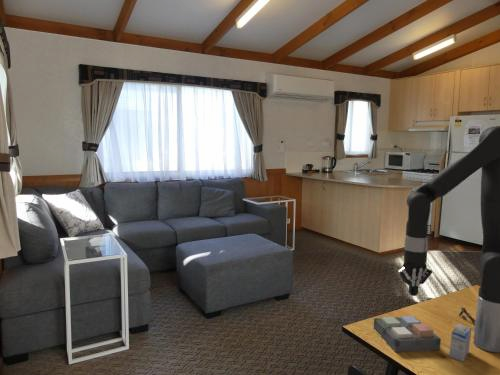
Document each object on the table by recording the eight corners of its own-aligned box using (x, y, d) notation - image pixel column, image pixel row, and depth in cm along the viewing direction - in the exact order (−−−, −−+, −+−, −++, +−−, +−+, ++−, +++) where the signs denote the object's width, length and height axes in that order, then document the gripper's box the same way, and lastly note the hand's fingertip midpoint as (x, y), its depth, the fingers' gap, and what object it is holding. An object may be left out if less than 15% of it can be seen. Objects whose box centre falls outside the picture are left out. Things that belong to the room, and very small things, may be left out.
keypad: (413, 326, 146) (414, 316, 146) (439, 349, 131) (440, 338, 130) (373, 328, 144) (374, 318, 144) (395, 352, 128) (396, 341, 128)
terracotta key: (424, 329, 136) (424, 323, 136) (432, 336, 132) (433, 330, 131) (411, 330, 136) (412, 323, 135) (419, 337, 131) (420, 330, 131)
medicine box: (454, 347, 133) (456, 323, 132) (469, 351, 130) (471, 327, 129) (448, 356, 127) (451, 331, 126) (464, 362, 124) (466, 336, 123)
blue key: (412, 322, 144) (412, 316, 144) (419, 328, 139) (420, 322, 139) (400, 322, 143) (400, 316, 143) (407, 329, 139) (407, 322, 138)
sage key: (393, 322, 143) (393, 316, 143) (399, 329, 138) (400, 323, 138) (380, 323, 142) (381, 317, 142) (387, 329, 138) (387, 323, 137)
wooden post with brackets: (459, 313, 157) (463, 305, 155) (474, 329, 151) (479, 321, 149) (455, 313, 157) (460, 306, 154) (470, 330, 150) (476, 322, 148)
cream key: (404, 333, 135) (404, 326, 135) (411, 340, 131) (412, 333, 130) (391, 333, 135) (391, 327, 134) (398, 341, 130) (398, 334, 130)
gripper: (426, 244, 142) (424, 290, 144) (392, 246, 140) (390, 292, 142) (439, 250, 135) (436, 298, 137) (403, 252, 133) (401, 300, 135)
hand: (413, 295), depth 140 cm, fingers closed
